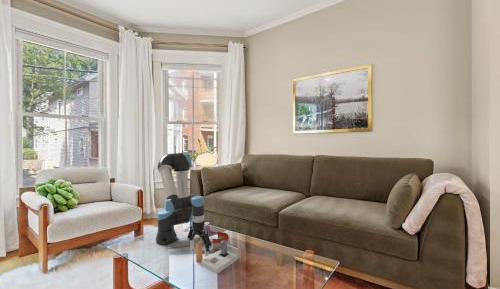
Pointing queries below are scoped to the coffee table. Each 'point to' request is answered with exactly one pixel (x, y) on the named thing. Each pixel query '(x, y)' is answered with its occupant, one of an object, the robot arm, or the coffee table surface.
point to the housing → (221, 259)
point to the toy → (219, 240)
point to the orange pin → (199, 252)
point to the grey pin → (223, 248)
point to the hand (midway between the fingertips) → (199, 252)
